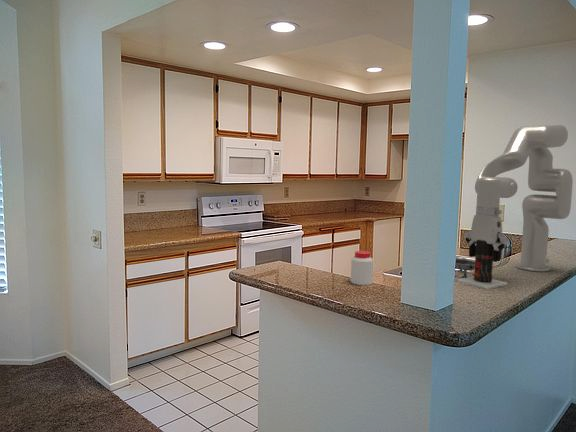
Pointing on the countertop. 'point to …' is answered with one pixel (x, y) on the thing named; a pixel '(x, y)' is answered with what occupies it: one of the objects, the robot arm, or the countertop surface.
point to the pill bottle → (362, 268)
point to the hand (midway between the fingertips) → (484, 258)
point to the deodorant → (483, 262)
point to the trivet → (480, 284)
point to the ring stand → (465, 266)
